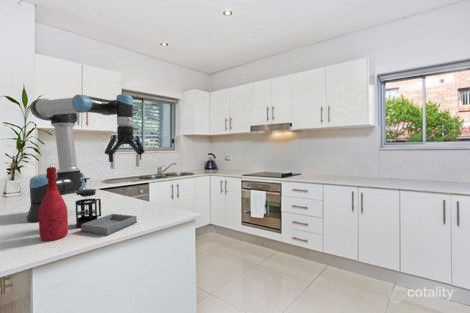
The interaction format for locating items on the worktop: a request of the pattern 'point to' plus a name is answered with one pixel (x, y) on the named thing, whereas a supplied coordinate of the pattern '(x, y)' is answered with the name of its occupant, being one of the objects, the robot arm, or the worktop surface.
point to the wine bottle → (52, 211)
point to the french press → (83, 202)
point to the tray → (108, 224)
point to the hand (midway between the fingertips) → (126, 167)
